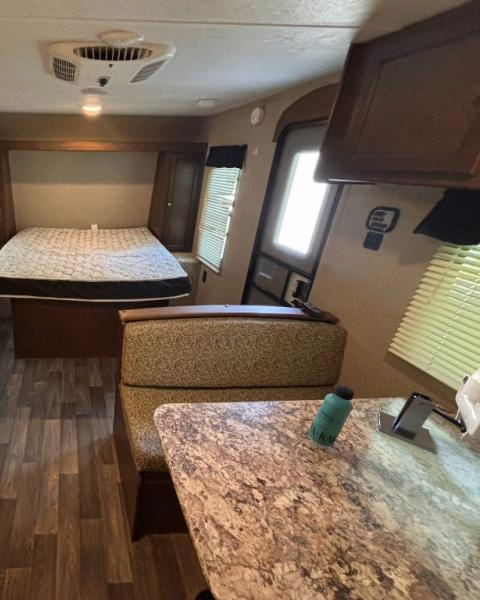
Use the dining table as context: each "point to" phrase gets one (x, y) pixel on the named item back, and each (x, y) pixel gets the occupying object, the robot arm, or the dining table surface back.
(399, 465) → the dining table surface
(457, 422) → the lever
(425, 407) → the bracket
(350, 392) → the beverage bottle
